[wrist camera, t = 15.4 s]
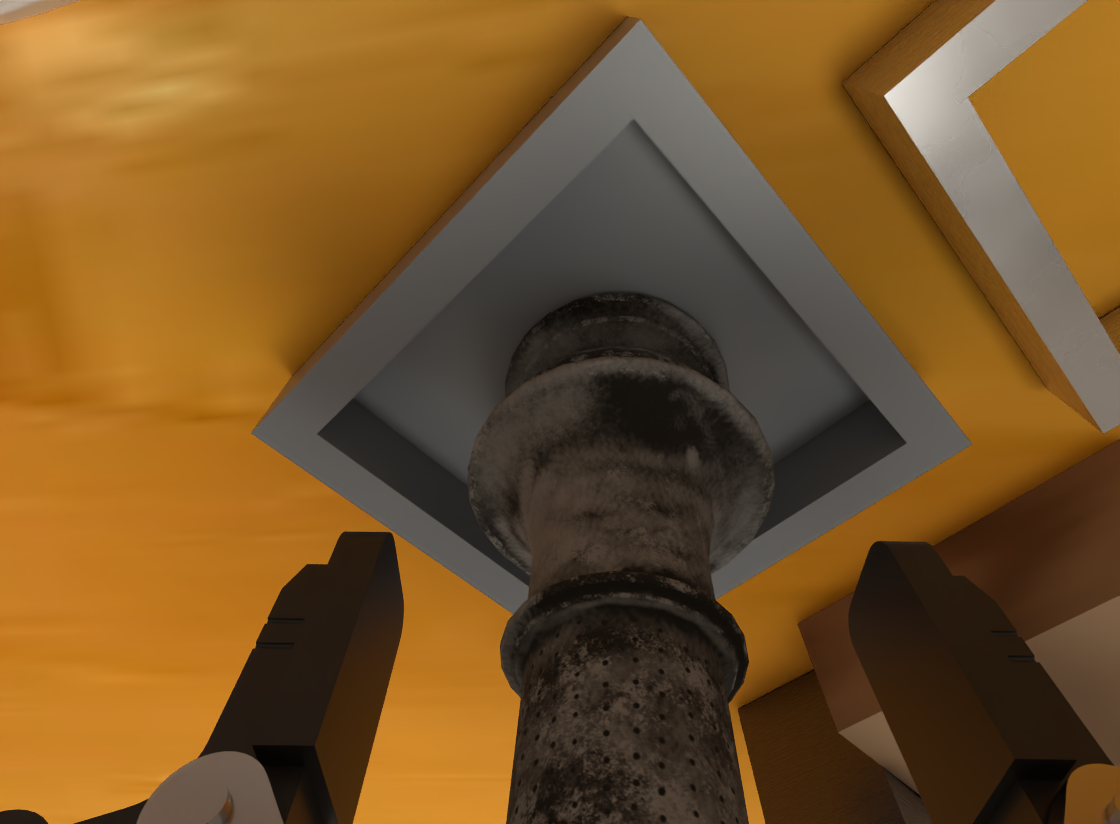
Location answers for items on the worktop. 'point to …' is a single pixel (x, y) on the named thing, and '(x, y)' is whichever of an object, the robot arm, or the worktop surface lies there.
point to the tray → (619, 268)
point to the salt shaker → (622, 562)
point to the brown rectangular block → (1015, 604)
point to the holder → (989, 187)
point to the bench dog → (818, 765)
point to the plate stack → (27, 8)
